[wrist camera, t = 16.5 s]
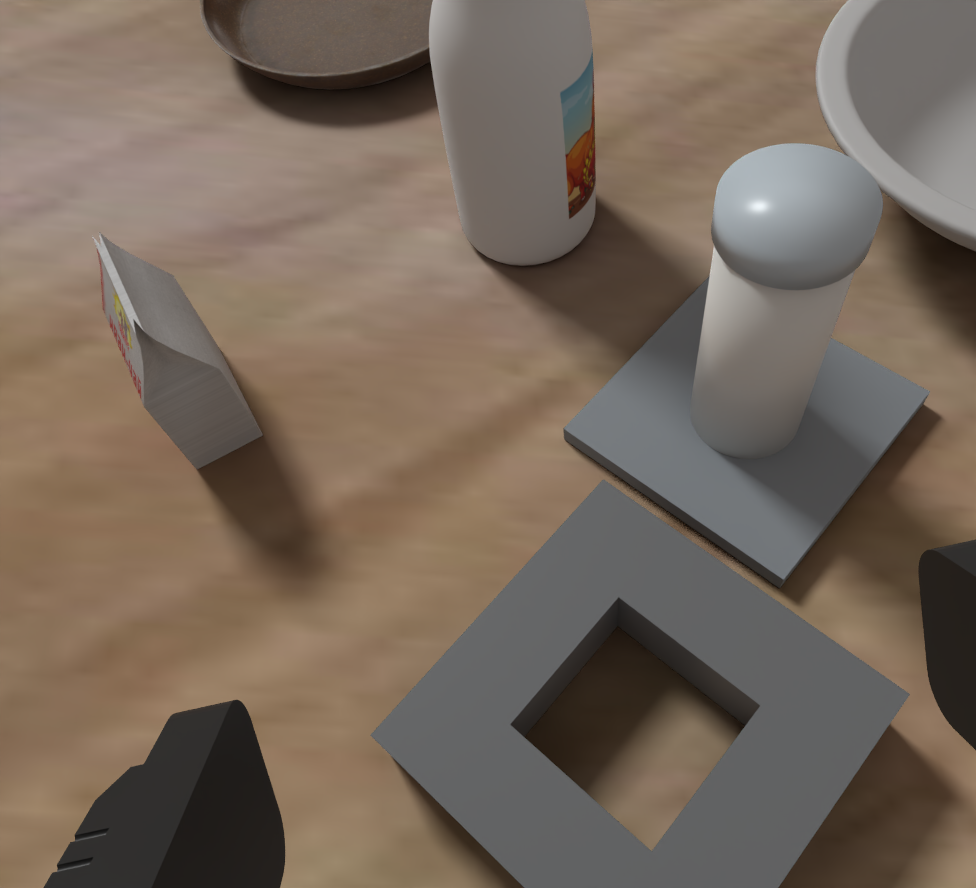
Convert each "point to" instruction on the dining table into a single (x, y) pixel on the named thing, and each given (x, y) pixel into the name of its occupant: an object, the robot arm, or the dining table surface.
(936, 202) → the soup bowl
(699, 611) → the housing
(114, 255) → the white paper packet
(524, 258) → the milk bottle
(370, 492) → the dining table surface
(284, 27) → the plant saucer
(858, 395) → the mat
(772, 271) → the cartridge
